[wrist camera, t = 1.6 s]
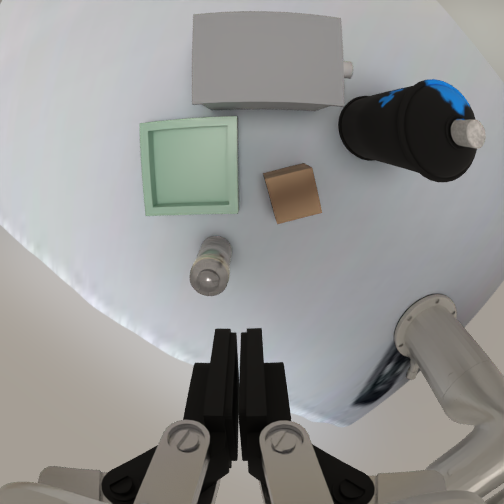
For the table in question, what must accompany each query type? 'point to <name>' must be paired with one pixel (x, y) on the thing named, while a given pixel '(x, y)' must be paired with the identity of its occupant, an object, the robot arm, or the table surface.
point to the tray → (190, 166)
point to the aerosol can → (414, 129)
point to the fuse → (211, 266)
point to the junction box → (268, 61)
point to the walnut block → (293, 192)
